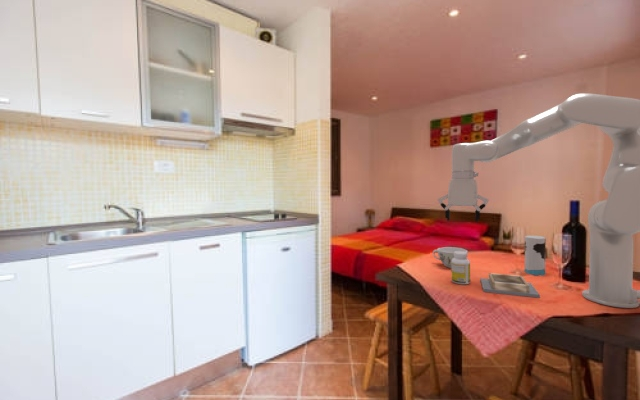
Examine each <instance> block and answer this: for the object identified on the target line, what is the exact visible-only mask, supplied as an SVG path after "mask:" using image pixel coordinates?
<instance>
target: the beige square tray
mask: <svg viewBox="0 0 640 400" xmlns="http://www.w3.org/2000/svg"><path fill="white" fill-rule="evenodd" d="M488 279H489V282H490V284H491V287H492V289H495V290H504V291H514V292H523V293H529V285H528V283H529V282H527V281H526V279H525V278H524V277H523V276H522V275H514V274H504V273H503V274H502V273H491V272H488ZM495 281H503V282H513V283H520V284H513V283H503V282H495Z"/></svg>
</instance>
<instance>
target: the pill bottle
mask: <svg viewBox="0 0 640 400" xmlns="http://www.w3.org/2000/svg"><path fill="white" fill-rule="evenodd" d="M454 256H455V257H454V258H453V259H452V260H451V268H450V269H451V270H450V271H451V282H453V284H454V283H455V284H457V285H468V284H470V283H471V261H470V260H469V259H468V253H467V252H463V251H455V252H454Z"/></svg>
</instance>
